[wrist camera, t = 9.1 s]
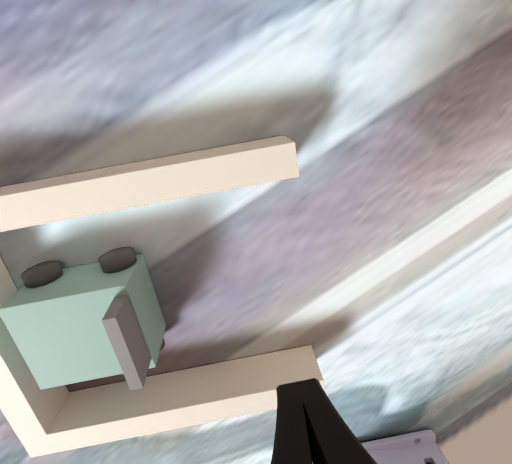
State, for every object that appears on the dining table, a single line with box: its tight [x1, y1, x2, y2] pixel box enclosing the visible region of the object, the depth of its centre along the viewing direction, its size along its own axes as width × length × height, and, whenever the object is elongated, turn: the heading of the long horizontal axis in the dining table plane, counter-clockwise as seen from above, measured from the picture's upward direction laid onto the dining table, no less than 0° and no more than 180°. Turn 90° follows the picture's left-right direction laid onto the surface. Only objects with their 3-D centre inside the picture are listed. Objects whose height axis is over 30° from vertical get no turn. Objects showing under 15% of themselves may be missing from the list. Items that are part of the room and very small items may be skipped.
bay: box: [0, 135, 325, 457], centre depth 18 cm, size 18×15×3 cm
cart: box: [0, 247, 166, 391], centre depth 17 cm, size 6×6×5 cm
